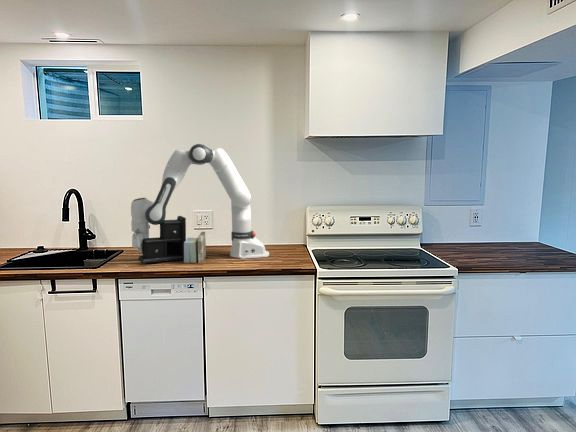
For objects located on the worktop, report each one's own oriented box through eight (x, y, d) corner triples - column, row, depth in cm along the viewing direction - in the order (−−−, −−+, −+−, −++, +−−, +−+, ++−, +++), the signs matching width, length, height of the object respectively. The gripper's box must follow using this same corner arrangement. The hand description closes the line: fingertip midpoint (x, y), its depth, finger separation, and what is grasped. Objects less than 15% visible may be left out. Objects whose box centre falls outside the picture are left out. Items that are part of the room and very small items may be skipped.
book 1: (193, 256, 233) (193, 237, 232) (189, 262, 219) (189, 242, 218) (187, 256, 233) (187, 237, 232) (184, 262, 219) (183, 242, 218)
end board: (206, 255, 236) (205, 231, 234) (202, 263, 218) (201, 237, 216) (202, 255, 236) (201, 231, 234) (198, 263, 218) (197, 237, 216)
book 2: (199, 256, 234) (198, 237, 232) (196, 262, 220) (195, 242, 218) (194, 256, 233) (193, 237, 232) (190, 262, 219) (189, 242, 218)
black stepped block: (142, 263, 214) (142, 219, 211) (138, 259, 223) (138, 216, 220) (186, 259, 226) (186, 217, 223) (180, 256, 235) (180, 215, 232)
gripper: (141, 230, 212) (141, 256, 213) (150, 225, 232) (151, 248, 234) (128, 230, 211) (129, 257, 213) (139, 225, 231) (140, 248, 233)
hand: (141, 252), depth 223 cm, fingers closed
